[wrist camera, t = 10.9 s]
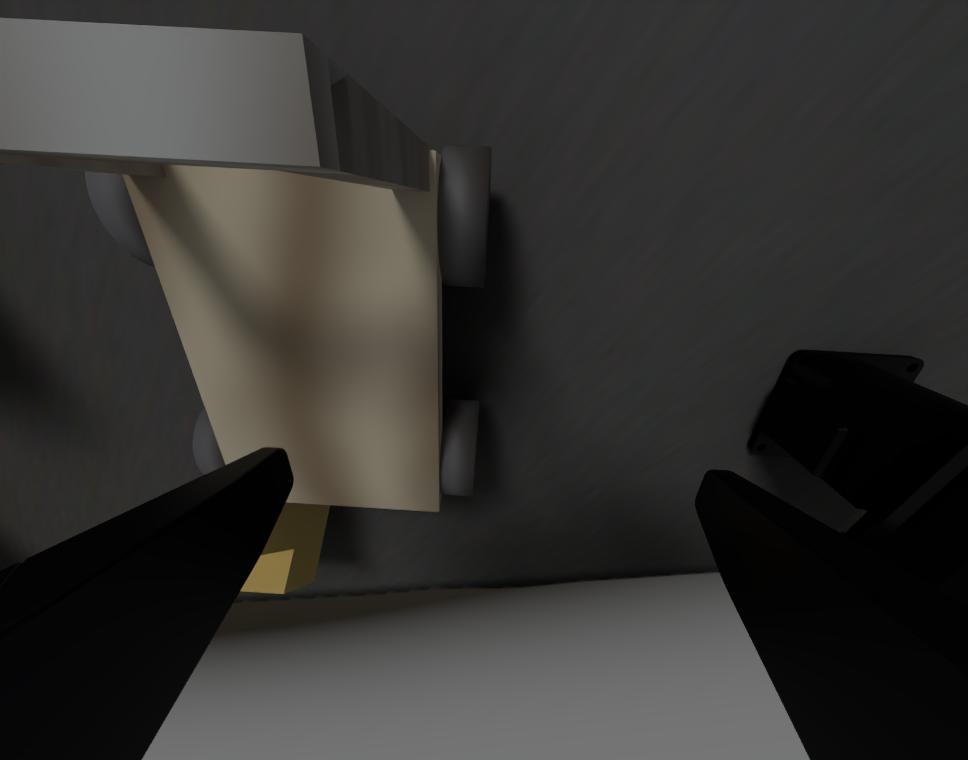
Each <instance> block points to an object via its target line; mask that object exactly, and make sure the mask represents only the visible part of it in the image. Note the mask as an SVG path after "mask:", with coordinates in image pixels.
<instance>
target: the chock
mask: <svg viewBox="0 0 968 760" xmlns="http://www.w3.org/2000/svg"><path fill="white" fill-rule="evenodd" d="M329 508H330V505H320V504H304V503H289V502H286V503H285V505H284V507H283V509H282V512H281V514H280V516H279V518H278V520H277V522H276V525H275V527H274V529H273V531H272V533H271V535H270V538H269V540H268V542H267V544H266V546H265V548H264V550H263V552H262V554H261V556H260V558H259V559H258V561H257V563H256V565H255V567H254V568H253V570H252V572H251V574H250V575H249V577H248V579H247V580H246V582H245V584H244V585H243V587H242V589H241V591H247V592H262V593H277V594H285V593H287V592H290V591H292V590H295V589H297V588H299V587H302V586H304V585H307V584H309V583H312V582H314V581H315V577H316V572H317V567H318V562H319V557H320V552H321V547H322V543H323V538H324V533H325V528H326V523H327V518H328V513H329Z"/></svg>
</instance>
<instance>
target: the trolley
mask: <svg viewBox="0 0 968 760" xmlns="http://www.w3.org/2000/svg"><path fill="white" fill-rule="evenodd" d="M0 164H8V165H20V166H31V167H42V168H54V169H65V170H77V171H85V179H86V185H87V190H88V194H89V196H90V199H91V202H92V205H93V207H94V209H95V211H96V213H97V215H98V217H99V219H100V220H101V222H102V224H103V225H104V227H105V228H106V230H107V231H108V232H109V234H110V235H111V236H112V237H113V238H114V239H115V241H116V242H117V243H118V244H119V245H120V246H121V247H122V248H123V249H125V250H126V251H127V252H128V253H130V254H131V255H132V256H134V257H135V258H137V259H138V260H140V261H142V262H144V263H146V264H148V265H150V266H153V267H155V268H156V271H157V273H158V276H159V279H160V282H161V285H162V287H163V290H164V293H165V296H166V299H167V302H168V304H169V307H170V310H171V313H172V316H173V318H174V321H175V324H176V327H177V330H178V332H179V335H180V338H181V341H182V344H183V347H184V349H185V352H186V355H187V358H188V361H189V363H190V366H191V369H192V372H193V375H194V377H195V380H196V383H197V386H198V389H199V392H200V394H201V397H202V400H203V403H204V408H203V409H202V411H201V413H200V415H199V417H198V420H197V422H196V426H195V429H194V435H193V453H194V458H195V461H196V464H197V466H198V468H199V469H200V471H201V472H202V473H203V474H204V475H205V474H208V473H210V472H212V471H214V470H216V469H218V468H220V467H222V466H225V465H227V464H229V463H231V462H233V461H235V460H237V459H239V458H242V457H244V456H246V455H248V454H250V453H252V452H254V451H256V450H258V449H261V448H263V447H277V448H283V449H285V451H286V452H287V454H288V458H289V462H290V465H291V469H292V472H293V476H294V483H293V487H292V490H291V492H290V494H289V496H288V499H287V501H286V502H289V503H304V504H320V505H336V506H352V507H367V508H383V509H399V510H415V511H430V512H439V511H440V505H441V500H442V495H457V496H473V494H474V483H475V470H476V456H477V440H478V422H479V401H474V400H458V399H449V400H448V402H447V406H446V410H445V416H444V422H443V430H442V281H443V284H444V285H445V286H460V287H477V288H484V285H485V274H486V260H487V244H488V226H489V206H490V182H491V147H485V146H466V145H448V144H446V145H445V146H444V148H443V151H442V155H440V154H439V153H438V152H437V151H432V150H429V146H428V145H427V144H426V143H425V142H423V141H422V140H421V139H420V138H419V137H418V136H417V135H416V134H414V133H413V132H412V131H411V130H410V129H409V128H408V127H407V126H405V125H404V124H403V123H402V122H401V121H400V120H399V119H398V118H396V117H395V116H394V115H393V114H392V113H391V112H390V111H389V110H387V109H386V108H385V107H384V106H383V105H382V104H381V103H380V102H378V101H377V100H376V99H375V98H374V97H373V96H372V95H371V94H369V93H368V92H367V91H366V90H365V89H364V88H363V87H362V86H360V85H359V84H358V83H357V82H356V81H355V80H354V79H353V78H351V77H350V76H349V75H348V74H347V73H346V72H345V71H344V70H342V69H341V68H340V67H339V66H338V65H337V64H336V63H335V62H333V61H332V60H331V59H330V58H329V57H328V56H327V55H326V54H324V53H323V52H322V51H321V50H320V49H319V48H318V47H317V46H315V45H314V44H313V43H312V42H311V41H310V40H309V39H308V38H306V37H305V36H304V35H303V34H301V33H281V32H262V31H243V30H223V29H204V28H185V27H165V26H146V25H127V24H107V23H88V22H69V21H49V20H30V19H11V18H0Z"/></svg>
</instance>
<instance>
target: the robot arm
mask: <svg viewBox="0 0 968 760" xmlns="http://www.w3.org/2000/svg"><path fill="white" fill-rule="evenodd" d="M802 358H804V359H803V360H802V361H801V362H800V360H801V359H802ZM923 366H924V362H923V361H922V360H921V359H918V358H915V357H912V356H903V355H886V354H869V353H853V352H836V351H819V350H798V351H796V352H794V353H793V354H792V355H791V356H790V358H789V360H788V362H787V364H786V366H785V368H784V370H783V372H782V374H781V376H780V378H779V381H778V383H777V385H776V387H775V389H774V391H773V393H772V395H771V397H770V399H769V402H768V404H767V406H766V408H765V410H764V412H763V414H762V416H761V418H760V420H759V423H758V425H757V427H756V429H755V431H754V433H753V435H752V437H751V439H750V441H749V444H748V447H749V449H750V450H752V451H753V452H754V453H755V454H758V455H774V456H790V457H793V458H794V459H795V460H796V461H798V462H799V463H800V464H801V465H802V466H803V467H805V468H806V469H807V470H808V471H809V472H811V473H812V474H813V475H814V476H816V477H820V478H821V479H822V480H823V481H824V482H826V483H827V484H828V485H829V486H830V487H832V488H833V489H834V490H835V491H836V492H838V493H839V494H840V495H841V496H842V497H844V498H845V499H846V500H847V501H848V502H850V503H851V504H852V505H853V506H854V507H855V508H858V509H865V510H866V511H867V512H866V513H865V514H864V515H863V516H862V517H861V518H860V519H859V520H858V521H857V522H856V523H855V524H854V525H853V526H852V527H851V528H850V529H849V530H848V531H847V532H845V533H843V532H842V533H839V532H837V531H836V530H834V529H832V528H830V527H829V526H827V525H825V524H823V523H822V522H820V521H818V520H816V519H815V518H813V517H811V516H809V515H808V514H806V513H804V512H802V511H801V510H799V509H797V508H795V507H794V506H792V505H790V504H788V503H787V502H785V501H783V500H781V499H780V498H778V497H776V496H774V495H773V494H771V493H769V492H767V491H766V490H764V489H762V488H760V487H759V486H757V485H755V484H753V483H752V482H750V481H748V480H746V479H745V478H743V477H741V476H739V475H738V474H736V473H734V472H732V471H729V470H709V471H707V472H706V473H705V475H704V478H703V480H702V483H701V486H700V488H699V491H698V493H697V496H696V499H695V507H696V511H697V514H698V517H699V519H700V522H701V525H702V527H703V530H704V533H705V535H706V538H707V541H708V543H709V546H710V548H711V551H712V554H713V556H714V559H715V562H716V564H717V567H718V570H719V572H720V575H721V577H722V579H723V582H724V584H725V586H726V588H727V590H728V593H729V595H730V597H731V599H732V601H733V603H734V605H735V607H736V609H737V611H738V613H739V615H740V617H741V620H742V622H743V624H744V626H745V628H746V630H747V632H748V634H749V636H750V638H751V640H752V642H753V644H754V646H755V648H756V650H757V652H758V654H759V656H760V658H761V660H762V662H763V664H764V666H765V668H766V670H767V672H768V675H769V677H770V679H771V681H772V683H773V685H774V687H775V689H776V691H777V693H778V695H779V697H780V699H781V701H782V703H783V705H784V707H785V709H786V711H787V713H788V715H789V717H790V719H791V721H792V723H793V726H794V728H795V730H796V732H797V734H798V736H799V738H800V740H801V742H802V744H803V746H804V748H805V750H806V752H807V754H808V756H809V758H810V760H968V405H966V404H963V403H961V402H959V401H956V400H954V399H951V398H949V397H947V396H944V395H942V394H940V393H937V392H935V391H932V390H930V389H928V388H925V387H923V386H921V385H918V384H916V383H914V380H915V379H916V377H917V376H918V374H919V373H920V371H921V370H922V368H923ZM759 445H760V446H759ZM293 483H294V476H293V472H292V469H291V465H290V462H289V458H288V454H287V452H286V451H285V449H283V448H277V447H263V448H261V449H258V450H256V451H254V452H252V453H250V454H248V455H246V456H244V457H242V458H239V459H237V460H235V461H233V462H231V463H229V464H227V465H225V466H222V467H220V468H218V469H216V470H214V471H212V472H210V473H208V474H205V475H203V476H201V477H199V478H197V479H195V480H193V481H191V482H188V483H186V484H184V485H182V486H180V487H178V488H176V489H174V490H171V491H169V492H167V493H165V494H163V495H161V496H159V497H157V498H155V499H152V500H150V501H148V502H146V503H144V504H142V505H140V506H138V507H135V508H133V509H131V510H129V511H127V512H125V513H123V514H121V515H118V516H116V517H114V518H112V519H110V520H108V521H106V522H104V523H101V524H99V525H97V526H95V527H93V528H91V529H89V530H87V531H84V532H82V533H80V534H78V535H76V536H74V537H72V538H70V539H68V540H65V541H63V542H61V543H59V544H57V545H55V546H53V547H51V548H48V549H46V550H44V551H42V552H40V553H38V554H36V555H34V556H31V557H29V558H27V559H26V560H25V561H24V562H23V563H22V562H19V563H16V564H14V565H12V566H10V567H8V568H6V569H4V570H1V571H0V760H142V758H143V756H144V755H145V753H146V751H147V750H148V748H149V746H150V744H151V743H152V741H153V739H154V738H155V736H156V734H157V732H158V731H159V729H160V727H161V726H162V724H163V722H164V720H165V719H166V717H167V715H168V714H169V712H170V710H171V708H172V707H173V705H174V703H175V702H176V700H177V698H178V697H179V695H180V693H181V691H182V690H183V688H184V686H185V685H186V683H187V681H188V679H189V678H190V676H191V674H192V673H193V671H194V669H195V667H196V666H197V664H198V662H199V661H200V659H201V657H202V655H203V654H204V652H205V650H206V649H207V647H208V645H209V644H210V642H211V640H212V638H213V637H214V635H215V633H216V632H217V629H218V628H219V627H220V625H221V623H222V621H223V620H224V618H225V616H226V614H227V613H228V611H229V609H230V608H231V606H232V604H233V603H234V601H235V599H236V597H237V596H238V594H239V592H240V591H241V589H242V587H243V585H244V584H245V582H246V580H247V579H248V577H249V575H250V574H251V572H252V570H253V568H254V567H255V565H256V563H257V561H258V559H259V558H260V556H261V554H262V552H263V550H264V548H265V546H266V544H267V542H268V540H269V538H270V535H271V533H272V531H273V529H274V527H275V525H276V522H277V520H278V518H279V516H280V514H281V512H282V509H283V507H284V505H285V503H286V501H287V499H288V496H289V494H290V492H291V490H292V487H293Z"/></svg>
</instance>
